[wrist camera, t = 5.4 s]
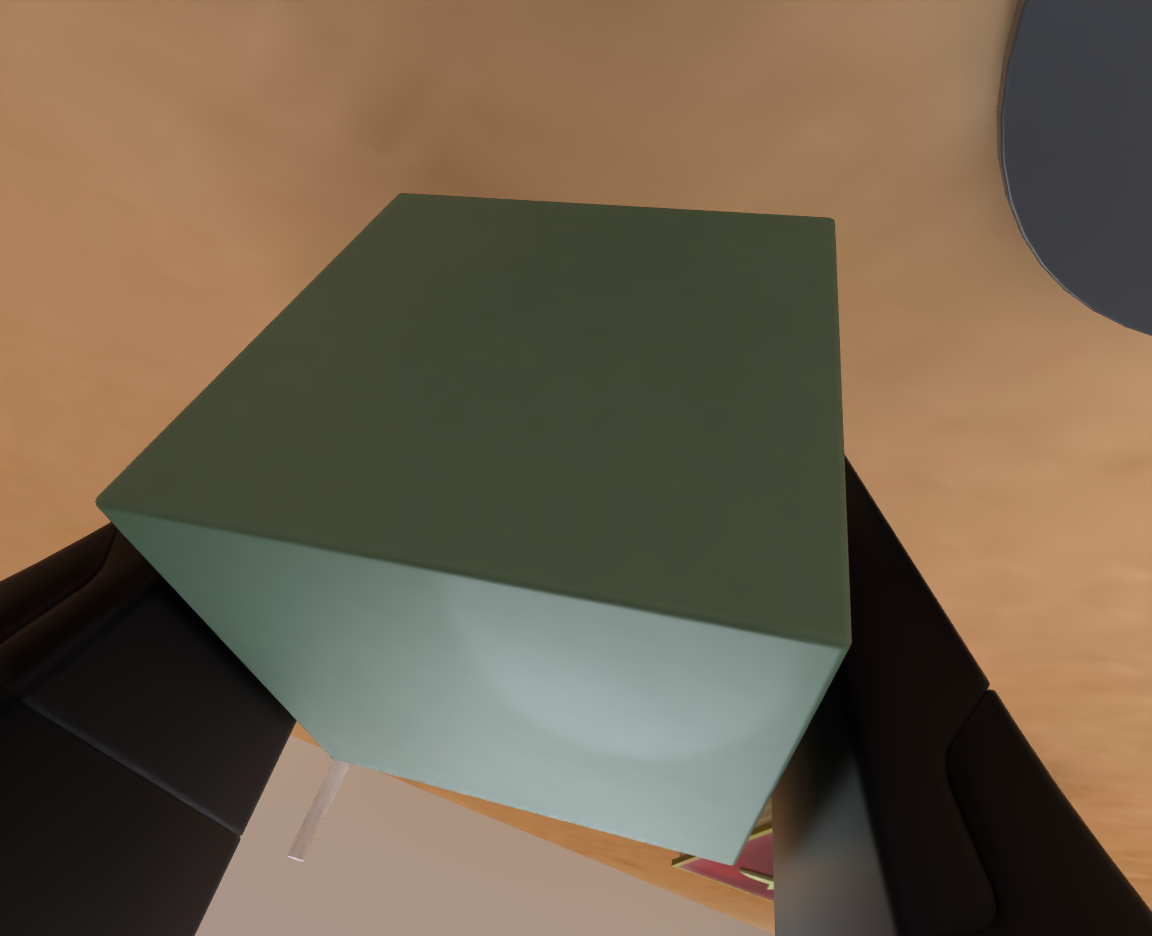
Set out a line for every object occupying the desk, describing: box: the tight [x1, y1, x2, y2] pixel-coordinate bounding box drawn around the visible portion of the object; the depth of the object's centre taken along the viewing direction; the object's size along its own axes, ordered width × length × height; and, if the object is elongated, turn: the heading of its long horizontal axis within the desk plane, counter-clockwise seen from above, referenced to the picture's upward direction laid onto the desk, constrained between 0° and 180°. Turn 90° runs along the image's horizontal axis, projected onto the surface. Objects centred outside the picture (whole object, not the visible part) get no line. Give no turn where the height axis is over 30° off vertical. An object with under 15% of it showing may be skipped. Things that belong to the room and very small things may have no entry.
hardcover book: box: [672, 797, 774, 903], centre depth 42 cm, size 12×21×4 cm, turn 165°
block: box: [95, 193, 852, 866], centre depth 7 cm, size 5×5×5 cm
